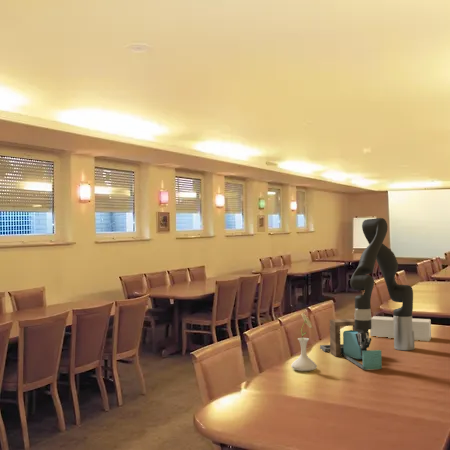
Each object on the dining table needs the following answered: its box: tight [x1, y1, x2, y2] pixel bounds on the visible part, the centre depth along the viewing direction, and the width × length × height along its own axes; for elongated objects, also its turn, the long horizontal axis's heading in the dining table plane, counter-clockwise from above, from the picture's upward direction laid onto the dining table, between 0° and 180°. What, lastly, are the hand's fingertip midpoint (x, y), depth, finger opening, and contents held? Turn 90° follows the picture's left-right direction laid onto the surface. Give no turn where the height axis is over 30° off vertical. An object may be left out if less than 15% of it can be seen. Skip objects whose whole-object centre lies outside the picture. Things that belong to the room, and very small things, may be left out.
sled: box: [341, 347, 383, 371], centre depth 239 cm, size 8×30×8 cm, turn 8°
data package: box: [342, 329, 368, 360], centre depth 247 cm, size 12×4×12 cm, turn 26°
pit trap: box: [319, 343, 343, 353], centre depth 266 cm, size 18×8×2 cm, turn 98°
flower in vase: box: [290, 312, 318, 372], centre depth 228 cm, size 13×11×25 cm
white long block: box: [369, 315, 432, 342], centre depth 294 cm, size 32×11×11 cm, turn 63°
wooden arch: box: [329, 318, 358, 358], centre depth 255 cm, size 15×8×17 cm, turn 98°
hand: (363, 356), depth 234 cm, fingers closed
